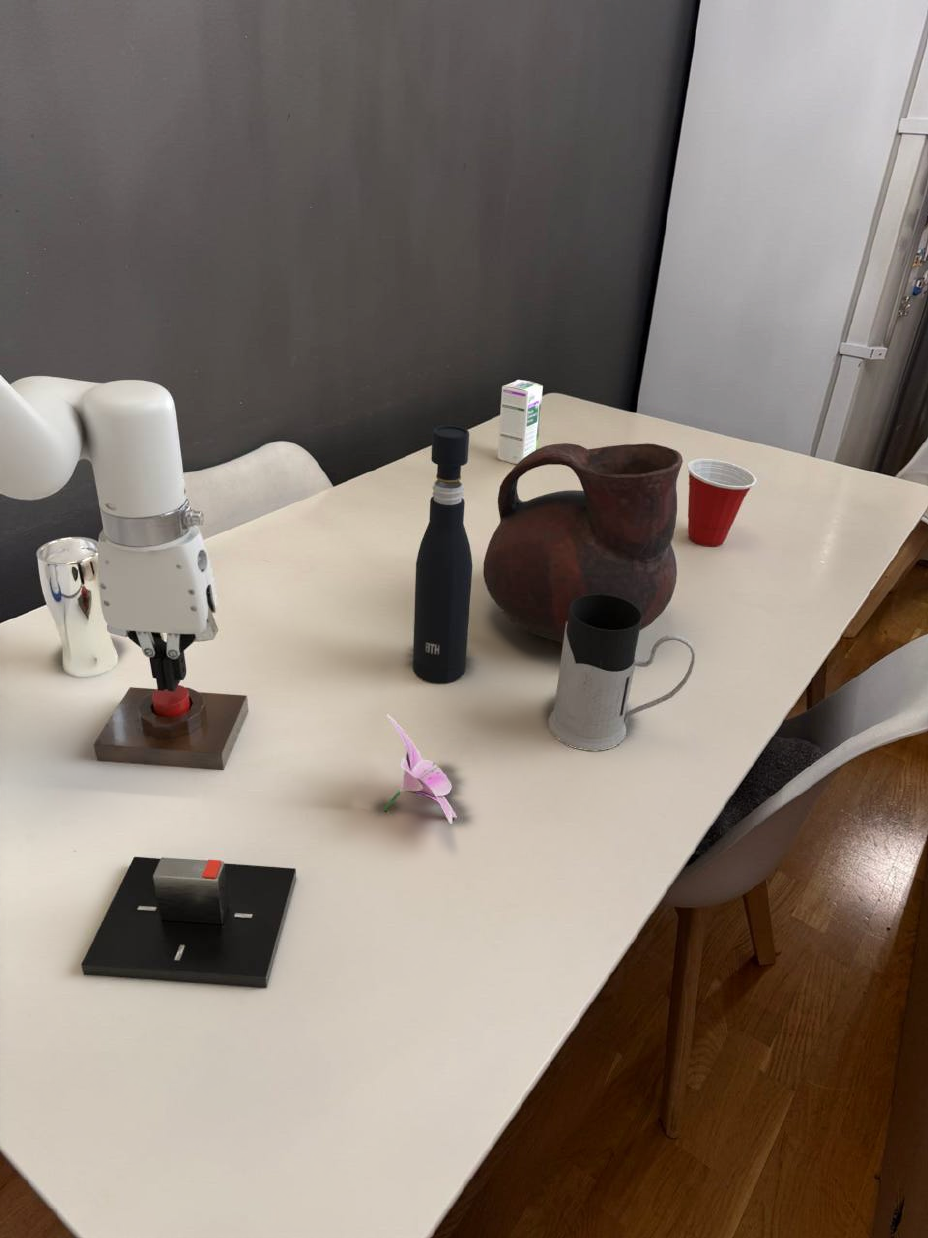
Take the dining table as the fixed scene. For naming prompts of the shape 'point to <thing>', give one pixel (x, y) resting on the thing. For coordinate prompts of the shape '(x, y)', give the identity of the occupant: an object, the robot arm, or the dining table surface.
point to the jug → (586, 535)
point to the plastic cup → (715, 499)
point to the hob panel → (194, 931)
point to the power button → (171, 702)
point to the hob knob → (191, 890)
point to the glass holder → (600, 672)
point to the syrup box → (519, 420)
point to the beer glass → (76, 605)
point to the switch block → (173, 731)
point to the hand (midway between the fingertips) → (170, 683)
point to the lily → (422, 776)
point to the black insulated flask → (444, 568)
